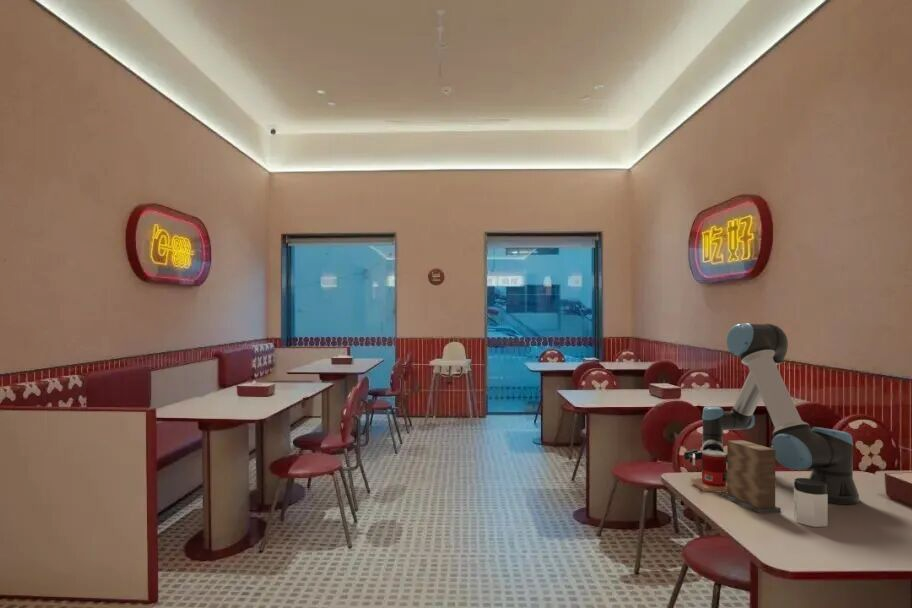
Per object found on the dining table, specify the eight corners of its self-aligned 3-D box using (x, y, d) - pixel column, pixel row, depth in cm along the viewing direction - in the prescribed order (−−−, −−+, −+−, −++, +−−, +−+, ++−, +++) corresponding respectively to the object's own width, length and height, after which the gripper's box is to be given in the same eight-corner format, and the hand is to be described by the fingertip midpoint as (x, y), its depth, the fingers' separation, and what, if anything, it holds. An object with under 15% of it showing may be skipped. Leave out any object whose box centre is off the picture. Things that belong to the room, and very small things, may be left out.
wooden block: (722, 497, 188) (722, 440, 189) (742, 495, 190) (742, 439, 191) (759, 513, 173) (759, 451, 173) (780, 511, 175) (780, 450, 175)
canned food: (729, 487, 196) (729, 455, 196) (704, 485, 197) (704, 454, 197) (723, 481, 203) (723, 450, 203) (699, 479, 205) (699, 449, 205)
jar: (791, 515, 172) (791, 476, 172) (822, 519, 169) (822, 479, 169) (797, 525, 163) (797, 483, 164) (830, 529, 160) (830, 487, 161)
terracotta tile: (724, 482, 206) (724, 479, 206) (738, 492, 194) (738, 489, 194) (691, 481, 206) (691, 478, 206) (703, 491, 194) (703, 487, 194)
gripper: (749, 464, 212) (754, 478, 192) (678, 457, 222) (676, 469, 202) (749, 444, 212) (754, 457, 192) (678, 438, 222) (676, 449, 202)
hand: (714, 463), depth 197 cm, fingers open, 13 cm apart
